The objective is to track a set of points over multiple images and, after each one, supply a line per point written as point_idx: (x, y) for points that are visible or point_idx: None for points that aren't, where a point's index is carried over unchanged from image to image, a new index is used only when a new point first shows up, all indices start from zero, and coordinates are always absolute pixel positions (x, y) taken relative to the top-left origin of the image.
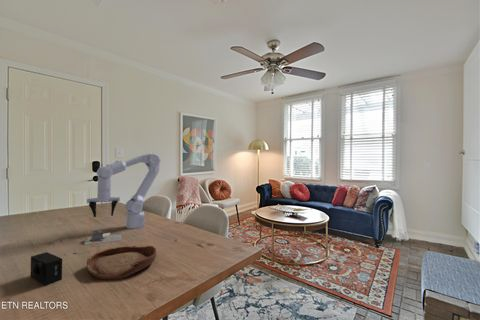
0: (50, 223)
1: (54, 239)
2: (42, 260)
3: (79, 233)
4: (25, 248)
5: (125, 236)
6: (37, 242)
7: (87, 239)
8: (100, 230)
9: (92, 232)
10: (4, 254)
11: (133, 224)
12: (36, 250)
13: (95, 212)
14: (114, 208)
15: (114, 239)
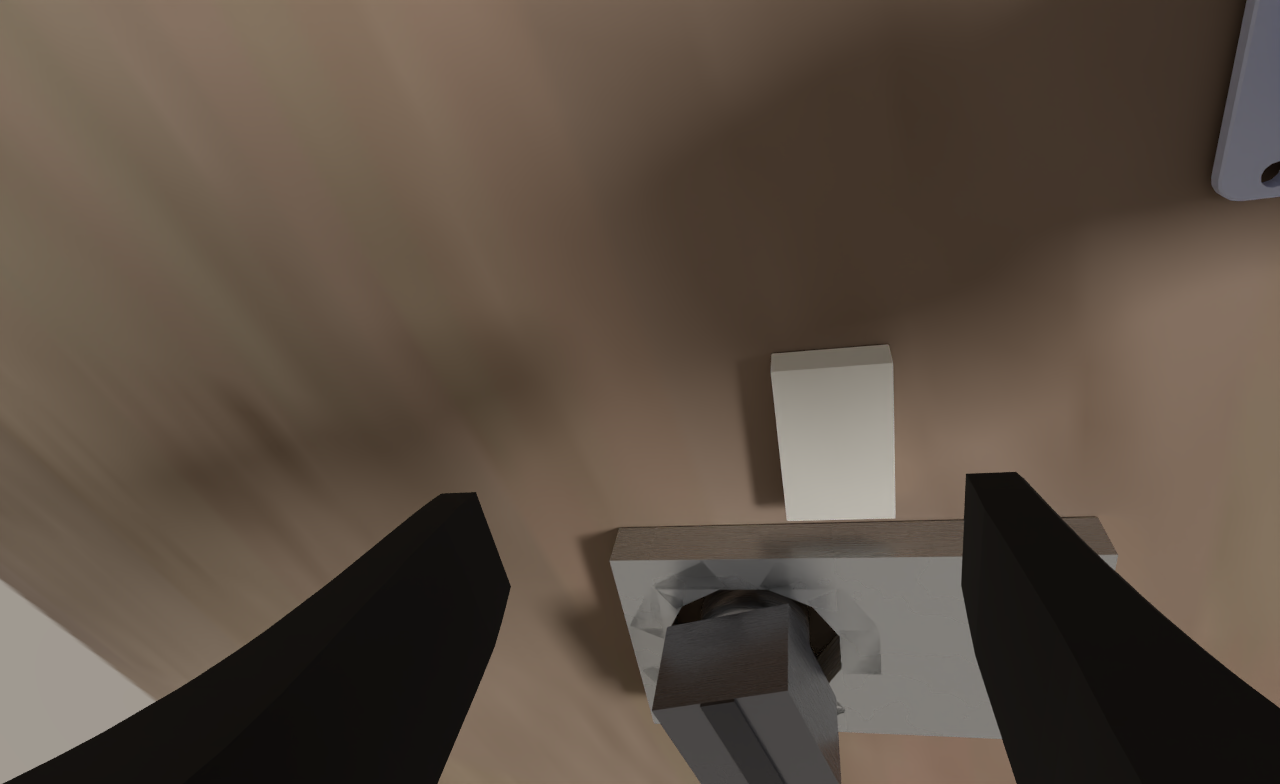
0: None
1: (131, 358)
2: None
3: (276, 126)
4: (99, 559)
5: (1168, 506)
6: (34, 418)
7: (632, 626)
8: (785, 718)
9: (692, 757)
10: (73, 636)
11: None
12: (249, 633)
13: (434, 649)
14: (1201, 676)
15: None
